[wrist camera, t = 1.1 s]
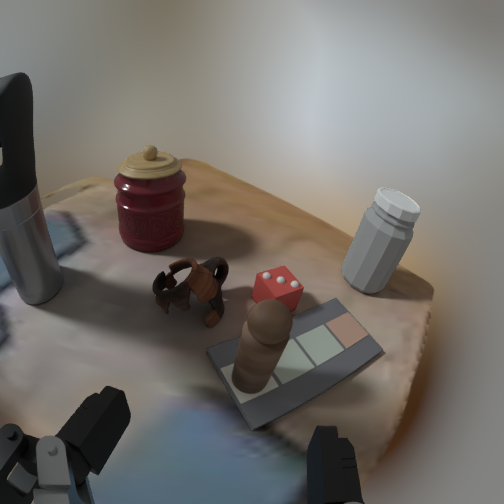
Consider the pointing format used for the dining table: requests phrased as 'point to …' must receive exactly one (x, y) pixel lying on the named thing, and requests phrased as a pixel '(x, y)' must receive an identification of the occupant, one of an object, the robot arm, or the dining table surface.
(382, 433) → the dining table surface
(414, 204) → the jar
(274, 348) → the walnut pawn
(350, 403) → the dining table surface
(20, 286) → the robot arm
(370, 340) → the game board
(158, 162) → the canister
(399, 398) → the dining table surface
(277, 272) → the red die
